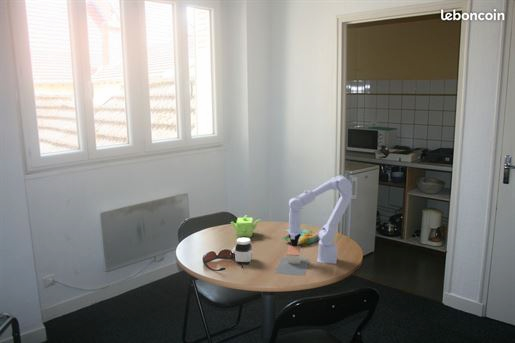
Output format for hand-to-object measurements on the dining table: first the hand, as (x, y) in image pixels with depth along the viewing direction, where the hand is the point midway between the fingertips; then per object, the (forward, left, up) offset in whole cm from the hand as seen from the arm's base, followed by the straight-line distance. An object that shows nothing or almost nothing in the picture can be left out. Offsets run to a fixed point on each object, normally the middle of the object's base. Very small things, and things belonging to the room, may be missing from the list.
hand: (294, 248), depth 221 cm
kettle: (+34, -34, -7) cm, 49 cm away
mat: (0, +7, -7) cm, 10 cm away
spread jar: (+27, +4, -7) cm, 28 cm away
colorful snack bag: (0, -30, -8) cm, 31 cm away
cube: (0, +1, -6) cm, 6 cm away
